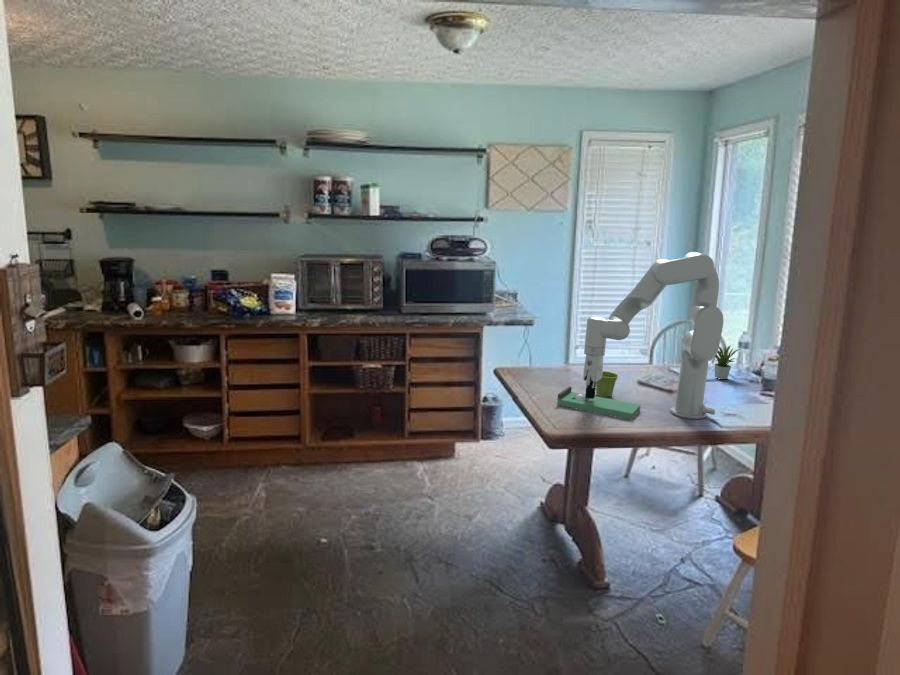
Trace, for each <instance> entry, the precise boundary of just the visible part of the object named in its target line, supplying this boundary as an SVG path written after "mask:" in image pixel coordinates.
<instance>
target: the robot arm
mask: <svg viewBox="0 0 900 675" xmlns="http://www.w3.org/2000/svg"><path fill="white" fill-rule="evenodd" d="M688 282H689V283H690V282H693V288H692V289H693V290H692V291H693V292H692V296H691V297H692V298H691V303H690V309H689V312H688V313H689V314H688V319H689V320H690V323H692V325H693V330H689V331H687V333H686V334H684V336H683V338H682V339H681V340H682V341H681V345H680V356H681V357H680V366H679V373H678V374H679V375H678V383H677V390H676V398H675V405H674V406H672V407H670V410H669V412H670V413H671V414H672V415H674V416H676V417H680V418H684V419H691V420H700V419H705V418H706V416H707V414H709V415H716V409H714V408H713V407H707V406H706V405H705V404H706V403H705V402H704V398H705V392H706V385H707V378H708V377H707V376H708V371H709V370H708V369H709V362H710V361H712V360H713V359H715V356H716V354H717V355H718V353H717V352H718V350H720V349H719V347H720V346H719V345H720V344H721V340H722V339H721V338H722V334H723V327H724V314H723V312H722V310H721V309H720V308H719V307H718V299H719V298H718V297H719V293H720V292H719V290H720V280H719V275H718V272H717V270H716V268H715V263H714V261H713V258H711V256H709V255H707V254H706V253H701V252H697V251H693V252H692V251H691V252H688V253H687V254H685V255H684V257H682V258H677V259H671V260H669V259H665V258H661V259H658V260H656V261H654V262H653V264H651V266H649V269H648V270H647V271H646V272H645V273H644V275H643V277H641V279H640V280H639V282H637V284H636V285H635V287H634V288H633V289H632V291H631V292H629V293H628V294H627V295H626V297H625V298H623V300H621V302H619V304H618V305H617V306H616V307H615V309H614V310H613V311H612V313H611V314H610V315H609V316H608V318H604V317H601V316H600V317H599V316H590V317H588V319H587V320H586V330H585V339H584V340H585V341H584V349H583V350H584V351H583V353H584V354H585V359H584V366H583V376H582V380H583V381H584V382H585V381H586V382H585V393H584V394H585V397H586V398H591V399H593V398H595V396H596V382H597V381H598V380H600V379H601V378H602V374H603V371H604V370H603V369H604V357H605V353H606V345H607V344H606V343H607V339H610V340H616V341H623V340H625V339H627V338H628V337H629V335H630V332H631V328H630V325H629V324H630V323H631V322H632V320H633V318H635V317H636V316H637V314H638V313H639V312H641V311H643V310H644V309H646V308H649V307H650V306H651V305H653V303H654V302H655V301H656V300H657V298H658V297H659V296H660V295H661V293H662V291H664V289H665V288H666V287H668V286H671V285H678V284H683V283H684V284H685V283H688Z"/></svg>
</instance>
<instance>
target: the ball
mask: <svg viewBox="0 0 900 675" xmlns="http://www.w3.org/2000/svg"><path fill="white" fill-rule="evenodd" d="M581 394H582V393H580V394H578V395H576V396H575V400H580V401H585V397H584V396H583V395H581Z"/></svg>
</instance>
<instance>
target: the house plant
mask: <svg viewBox="0 0 900 675" xmlns="http://www.w3.org/2000/svg"><path fill="white" fill-rule="evenodd" d="M731 346H732V345H728V346H726V345H724V350H723V348H722V347H721V345H720V344H719V349H718V352H717V354H716V356H715V357H714V359H716V360H715V362H717V363H714V364H713V365H714V366H713V367H714V378H715V377H717V378H720V379H727V380H728V378H729V374H730V371H731V368H732V366H731V365H730V363H733V362H734V363H735V362H736V361H735V360H737V361H738V359H736V358H731V357H732V356H733V355H735V353H737V352H738V351H739V350H741V348H739V349H735V350H734V347H732V348H731ZM730 348H731V349H730ZM729 350H730V351H729ZM730 358H731V359H730Z"/></svg>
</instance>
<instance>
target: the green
mask: <svg viewBox="0 0 900 675" xmlns="http://www.w3.org/2000/svg"><path fill="white" fill-rule="evenodd" d="M578 394H581V395H583V396H584V397H585V394H586V393H579V392H573V391H572V386H568V387H566V388H565V389H563V390H562V391H560V392H559V393H558V394H557V401H556V405H557V406H558V405H561V406H560V407H563V406H567V407H566V408H568V407H571V408H570V409H573V408H577V409H576V410H578V409H581V410H580V411H584V410H586V411H585V412H589V411H590V412H589V413H594V412H596V413H595V414H599V413H600V414H599V415H604V414H606V415H605V416H609V415H611V416H610V417H614V416H616V417H615V418H619V417H621V418H620V419H624V418H626V419H625V420H629V419H631V420H630V421H633V419H635V417H636V416H637V413H638V414H639V413H640V411H641V404H638V403H633V402H629V401H622V400H619V399H618V400H617V399H611V398H608V397H603V396H596V395H595V398H593V399H591V398H586V397H585V401H580V400H575V396H576V395H578Z"/></svg>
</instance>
